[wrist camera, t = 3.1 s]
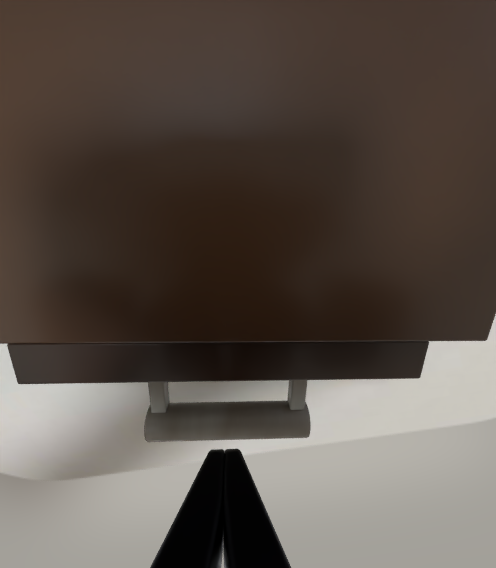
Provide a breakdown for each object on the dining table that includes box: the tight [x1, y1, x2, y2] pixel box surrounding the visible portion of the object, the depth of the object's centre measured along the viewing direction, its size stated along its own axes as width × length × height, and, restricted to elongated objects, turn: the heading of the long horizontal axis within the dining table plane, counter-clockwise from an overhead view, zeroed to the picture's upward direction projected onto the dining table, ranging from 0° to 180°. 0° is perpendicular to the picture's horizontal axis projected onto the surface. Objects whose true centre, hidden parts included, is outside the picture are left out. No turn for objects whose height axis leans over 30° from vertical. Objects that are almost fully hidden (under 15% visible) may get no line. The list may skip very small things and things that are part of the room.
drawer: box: [7, 341, 429, 442], centre depth 9 cm, size 17×11×7 cm, turn 179°
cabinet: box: [0, 0, 496, 344], centre depth 8 cm, size 14×12×9 cm
